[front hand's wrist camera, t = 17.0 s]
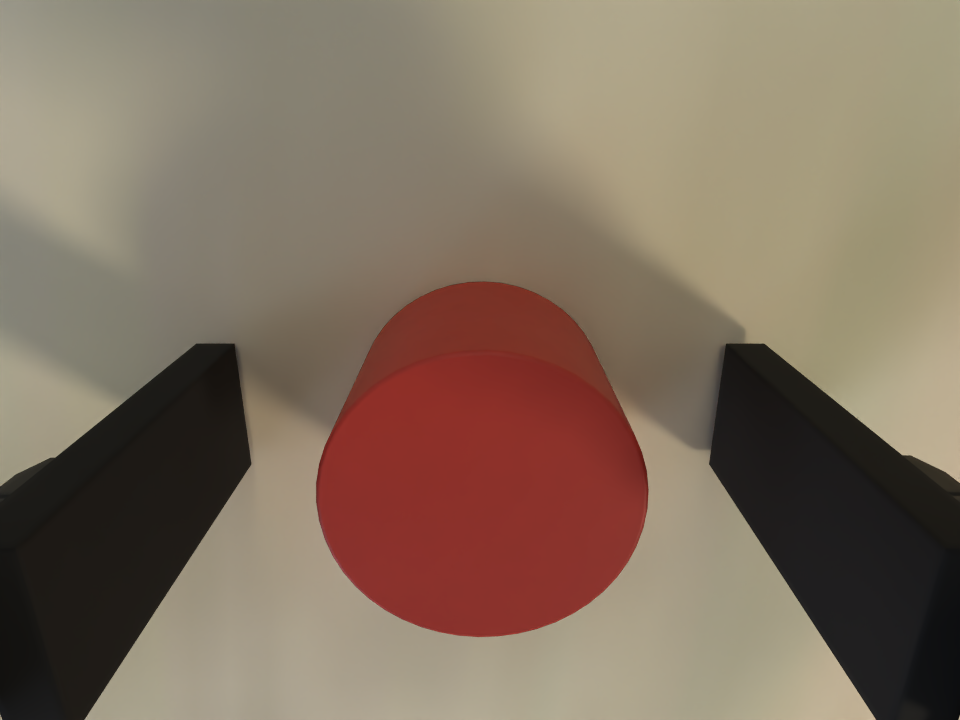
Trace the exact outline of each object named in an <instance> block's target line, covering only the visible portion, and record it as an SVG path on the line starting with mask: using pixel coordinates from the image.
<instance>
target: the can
mask: <svg viewBox="0 0 960 720" xmlns="http://www.w3.org/2000/svg"><path fill="white" fill-rule="evenodd" d="M316 503H317V510H318V516H319V521H320V525H321V528H322V531H323V535H324V538H325V540H326V543H327V545H328V547H329V549H330V551H331V553H332V555H333V557H334V559H335V560H336V562H337V563H338V565H339V566H340V568H341V569H342V571H343V572H344V574H345V575H346V576H347V577H348V578H349V579H350V580H351V582H352V583H353V584H354V585H355V586H356V587H357V588H358V589H359V590H360V591H361V592H362V593H363V594H365V595H366V596H367V597H368V598H369V599H370V600H372V601H373V602H375V603H376V604H377V605H379V606H380V607H382V608H383V609H384V610H386V611H388V612H390V613H392V614H393V615H395V616H397V617H399V618H401V619H403V620H405V621H408V622H410V623H413V624H415V625H418V626H420V627H423V628H427V629H430V630H434V631H437V632H442V633H447V634H453V635H459V636H473V637H490V636H504V635H511V634H518V633H522V632H526V631H530V630H534V629H538V628H541V627H543V626H546V625H549V624H552V623H555V622H557V621H559V620H561V619H563V618H565V617H567V616H569V615H571V614H573V613H575V612H576V611H578V610H579V609H581V608H582V607H584V606H586V605H587V604H589V603H590V602H591V601H592V600H594V599H595V598H596V597H597V596H598V595H600V594H601V593H602V592H603V591H604V590H605V589H606V588H607V587H608V586H609V585H610V584H611V583H612V582H613V581H614V580H615V579H616V578H617V576H618V575H619V574H620V572H621V571H622V570H623V568H624V567H625V565H626V564H627V563H628V561H629V559H630V557H631V555H632V553H633V552H634V550H635V548H636V546H637V543H638V541H639V538H640V535H641V533H642V530H643V527H644V522H645V517H646V513H647V507H648V480H647V470H646V466H645V462H644V459H643V455H642V451H641V449H640V447H639V444H638V442H637V440H636V437H635V435H634V433H633V431H632V428H631V426H630V424H629V422H628V420H627V418H626V416H625V414H624V412H623V410H622V408H621V406H620V404H619V401H618V399H617V397H616V395H615V393H614V391H613V389H612V387H611V385H610V383H609V381H608V379H607V377H606V374H605V372H604V370H603V368H602V366H601V364H600V362H599V360H598V358H597V356H596V354H595V352H594V349H593V347H592V345H591V344H590V342H589V340H588V339H587V337H586V335H585V334H584V332H583V331H582V330H581V329H580V327H579V326H578V325H577V324H576V322H575V321H574V320H573V319H572V318H571V317H570V316H569V315H567V314H566V313H565V312H564V311H563V310H562V309H561V308H559V307H558V306H556V305H555V304H554V303H552V302H551V301H549V300H548V299H546V298H544V297H542V296H540V295H538V294H536V293H534V292H531V291H528V290H526V289H523V288H520V287H517V286H512V285H508V284H503V283H494V282H467V283H461V284H456V285H450V286H447V287H444V288H441V289H437V290H434V291H432V292H430V293H428V294H426V295H424V296H421V297H419V298H418V299H416V300H415V301H413V302H411V303H410V304H408V305H407V306H405V307H404V308H403V309H402V310H401V311H399V312H398V313H397V314H396V315H395V316H394V317H393V318H392V319H391V320H390V321H389V322H388V323H387V324H386V325H385V326H384V328H383V329H382V330H381V332H380V333H379V335H378V336H377V338H376V339H375V341H374V343H373V345H372V347H371V349H370V351H369V353H368V355H367V357H366V359H365V361H364V363H363V366H362V368H361V370H360V372H359V374H358V376H357V378H356V381H355V383H354V385H353V387H352V389H351V391H350V393H349V395H348V398H347V400H346V402H345V404H344V406H343V408H342V410H341V413H340V415H339V417H338V419H337V421H336V423H335V425H334V428H333V430H332V432H331V434H330V436H329V438H328V440H327V442H326V445H325V447H324V451H323V454H322V457H321V460H320V463H319V469H318V475H317V481H316Z"/></svg>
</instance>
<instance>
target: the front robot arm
mask: <svg viewBox="0 0 960 720" xmlns="http://www.w3.org/2000/svg"><path fill="white" fill-rule="evenodd" d="M250 465H251V458H250V451H249V444H248V437H247V430H246V422H245V415H244V408H243V401H242V394H241V387H240V379H239V372H238V365H237V358H236V351H235V344H196V345H194V346H193V347H192V348H191V349H189V350H188V351H187V352H186V353H184V354H183V355H182V356H181V357H179V358H178V359H177V360H176V361H174V362H173V363H172V364H171V365H170V366H168V367H167V368H166V369H165V370H163V371H162V372H161V373H160V374H158V375H157V376H156V377H155V378H153V379H152V380H151V381H150V382H149V383H147V384H146V385H145V386H144V387H142V388H141V389H140V390H139V391H137V392H136V393H135V394H134V395H132V396H131V397H130V398H129V399H127V400H126V401H125V402H124V403H123V404H121V405H120V406H119V407H118V408H116V409H115V410H114V411H113V412H111V413H110V414H109V415H108V416H106V417H105V418H104V419H103V420H102V421H100V422H99V423H98V424H97V425H95V426H94V427H93V428H92V429H90V430H89V431H88V432H87V433H85V434H84V435H83V436H82V437H80V438H79V439H78V440H77V441H76V442H74V443H73V444H72V445H71V446H69V447H68V448H67V449H66V450H64V451H63V452H62V453H61V454H59V455H58V456H57V457H56V458H49V459H47V460H45V461H43V462H41V463H39V464H37V465H35V466H33V467H31V468H29V469H27V470H24V471H22V472H20V473H18V474H16V475H15V476H13V477H12V478H11V479H10V480H8V481H7V482H6V483H4V484H3V485H2V486H1V487H0V714H1V717H2V720H84V719H85V718H86V716H87V715H88V713H89V712H90V710H91V709H92V707H93V706H94V704H95V703H96V701H97V700H98V698H99V696H100V695H101V693H102V692H103V690H104V689H105V687H106V686H107V684H108V683H109V681H110V680H111V678H112V677H113V675H114V674H115V672H116V670H117V669H118V667H119V666H120V664H121V663H122V661H123V660H124V658H125V657H126V655H127V654H128V652H129V651H130V649H131V648H132V646H133V644H134V643H135V641H136V640H137V638H138V637H139V635H140V634H141V632H142V631H143V629H144V628H145V626H146V625H147V623H148V622H149V620H150V618H151V617H152V615H153V614H154V612H155V611H156V609H157V608H158V606H159V605H160V603H161V602H162V600H163V599H164V597H165V596H166V594H167V592H168V591H169V589H170V588H171V586H172V585H173V583H174V582H175V580H176V579H177V577H178V576H179V574H180V573H181V571H182V570H183V568H184V566H185V565H186V563H187V562H188V560H189V559H190V557H191V556H192V554H193V553H194V551H195V550H196V548H197V547H198V545H199V543H200V542H201V540H202V539H203V537H204V536H205V534H206V533H207V531H208V530H209V528H210V527H211V525H212V524H213V522H214V521H215V519H216V517H217V516H218V514H219V513H220V511H221V510H222V508H223V507H224V505H225V504H226V502H227V501H228V499H229V498H230V496H231V495H232V493H233V491H234V490H235V488H236V487H237V485H238V484H239V482H240V481H241V479H242V478H243V476H244V475H245V473H246V472H247V470H248V469H249V467H250ZM709 465H710V466H711V468H712V469H713V471H714V472H715V474H716V475H717V477H718V478H719V480H720V481H721V483H722V485H723V486H724V488H725V489H726V491H727V492H728V494H729V495H730V497H731V498H732V500H733V501H734V503H735V504H736V506H737V507H738V509H739V511H740V512H741V514H742V515H743V517H744V518H745V520H746V521H747V523H748V524H749V526H750V527H751V529H752V530H753V532H754V533H755V535H756V537H757V538H758V540H759V541H760V543H761V544H762V546H763V547H764V549H765V550H766V552H767V553H768V555H769V556H770V558H771V559H772V561H773V563H774V564H775V566H776V567H777V569H778V570H779V572H780V573H781V575H782V576H783V578H784V579H785V581H786V582H787V584H788V585H789V587H790V589H791V590H792V592H793V593H794V595H795V596H796V598H797V599H798V601H799V602H800V604H801V605H802V607H803V608H804V610H805V611H806V613H807V615H808V616H809V618H810V619H811V621H812V622H813V624H814V625H815V627H816V628H817V630H818V631H819V633H820V634H821V636H822V637H823V639H824V641H825V642H826V644H827V645H828V647H829V648H830V650H831V651H832V653H833V654H834V656H835V657H836V659H837V660H838V662H839V663H840V665H841V667H842V668H843V670H844V671H845V673H846V674H847V676H848V677H849V679H850V680H851V682H852V683H853V685H854V686H855V688H856V689H857V691H858V693H859V694H860V696H861V697H862V699H863V700H864V702H865V703H866V705H867V706H868V708H869V709H870V711H871V712H872V714H873V715H874V717H875V719H876V720H958V719H959V716H960V483H959V482H957V481H956V480H955V479H954V478H952V477H951V476H950V475H948V474H947V473H946V472H944V471H942V470H940V469H938V468H935V467H933V466H931V465H929V464H927V463H925V462H923V461H921V460H919V459H917V458H915V457H913V456H902V455H901V454H900V453H899V452H897V451H896V450H895V449H894V448H893V447H891V446H890V445H889V444H888V443H886V442H885V441H884V440H883V439H881V438H880V437H879V436H878V435H876V434H875V433H874V432H873V431H871V430H870V429H869V428H868V427H867V426H865V425H864V424H863V423H862V422H860V421H859V420H858V419H857V418H855V417H854V416H853V415H852V414H850V413H849V412H848V411H847V410H845V409H844V408H843V407H842V406H841V405H839V404H838V403H837V402H836V401H834V400H833V399H832V398H831V397H829V396H828V395H827V394H826V393H824V392H823V391H822V390H821V389H820V388H818V387H817V386H816V385H815V384H813V383H812V382H811V381H810V380H808V379H807V378H806V377H805V376H803V375H802V374H801V373H800V372H798V371H797V370H796V369H795V368H794V367H792V366H791V365H790V364H789V363H787V362H786V361H785V360H784V359H782V358H781V357H780V356H779V355H777V354H776V353H775V352H774V351H772V350H771V349H770V348H769V347H768V346H766V345H765V344H726V348H725V355H724V362H723V369H722V377H721V384H720V391H719V398H718V405H717V412H716V419H715V427H714V434H713V441H712V448H711V455H710V462H709Z"/></svg>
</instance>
